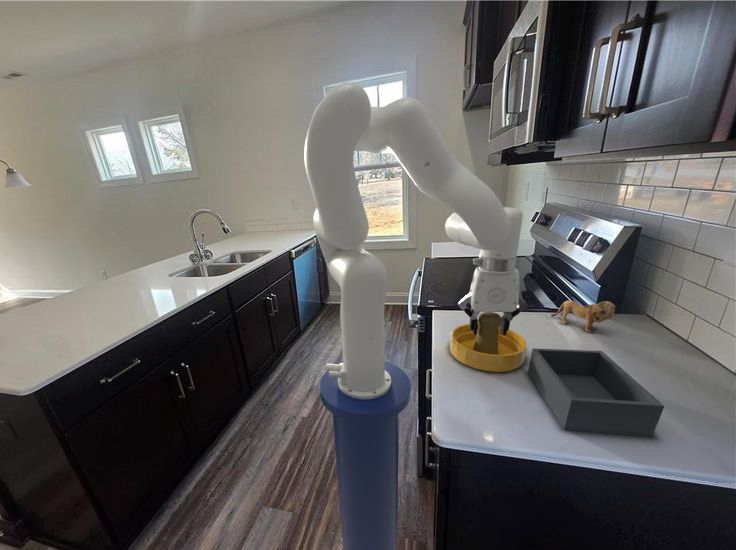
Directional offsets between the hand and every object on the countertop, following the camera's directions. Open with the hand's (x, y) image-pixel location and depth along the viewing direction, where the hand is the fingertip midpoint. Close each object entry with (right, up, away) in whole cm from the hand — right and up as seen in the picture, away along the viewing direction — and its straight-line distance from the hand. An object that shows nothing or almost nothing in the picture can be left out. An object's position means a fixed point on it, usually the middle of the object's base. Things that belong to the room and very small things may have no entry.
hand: (488, 331), depth 79 cm
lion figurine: (+33, 0, +13) cm, 36 cm away
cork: (0, -6, +2) cm, 6 cm away
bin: (+11, -12, -16) cm, 23 cm away
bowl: (0, -6, +2) cm, 6 cm away
